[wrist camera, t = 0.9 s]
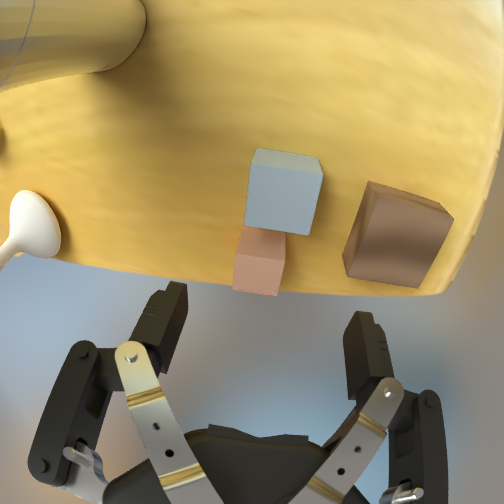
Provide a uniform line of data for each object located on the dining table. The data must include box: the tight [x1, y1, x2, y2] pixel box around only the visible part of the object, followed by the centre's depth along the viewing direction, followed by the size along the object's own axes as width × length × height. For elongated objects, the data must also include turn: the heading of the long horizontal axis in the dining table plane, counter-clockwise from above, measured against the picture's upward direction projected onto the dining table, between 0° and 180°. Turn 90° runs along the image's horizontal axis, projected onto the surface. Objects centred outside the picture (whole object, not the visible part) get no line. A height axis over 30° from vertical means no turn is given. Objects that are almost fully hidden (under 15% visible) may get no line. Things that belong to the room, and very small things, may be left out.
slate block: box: [244, 148, 323, 236], centre depth 24 cm, size 6×6×5 cm
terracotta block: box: [233, 226, 286, 296], centre depth 28 cm, size 4×4×5 cm
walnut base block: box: [342, 181, 454, 288], centre depth 25 cm, size 9×9×4 cm
